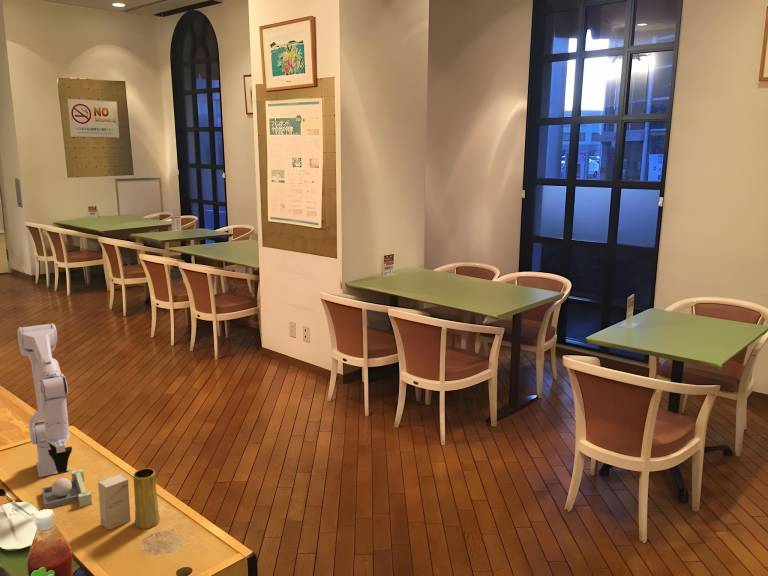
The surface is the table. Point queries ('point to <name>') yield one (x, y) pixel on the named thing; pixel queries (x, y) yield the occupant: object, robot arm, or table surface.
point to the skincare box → (114, 501)
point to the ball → (61, 487)
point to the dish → (55, 501)
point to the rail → (81, 488)
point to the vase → (145, 499)
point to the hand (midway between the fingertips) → (60, 465)
